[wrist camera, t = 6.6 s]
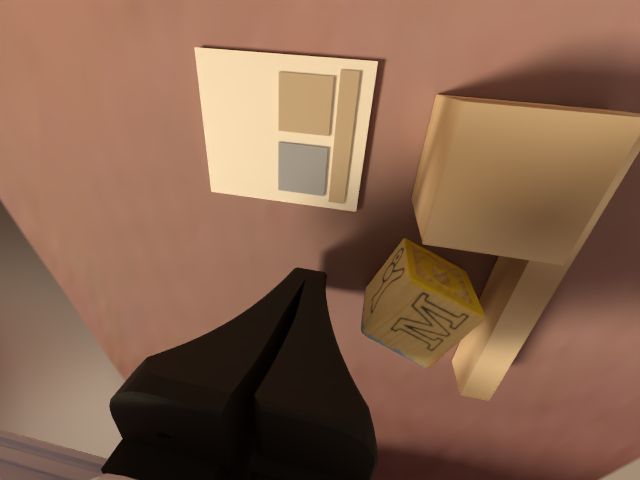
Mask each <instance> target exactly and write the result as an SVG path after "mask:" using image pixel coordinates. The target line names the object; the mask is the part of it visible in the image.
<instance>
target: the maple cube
mask: <svg viewBox="0 0 640 480" xmlns="http://www.w3.org/2000/svg"><path fill="white" fill-rule="evenodd" d="M639 135H640V117H638V116H631V115H624V114H617V113H610V112H603V111H596V110H589V109H582V108H575V107H568V106H561V105H553V104H541V103H530V102H519V101H507V100H496V99H484V98H473V97H462V96H450V95H439V94H436V98H435V102H434V106H433V110H432V114H431V118H430V123H429V127H428V131H427V135H426V139H425V143H424V147H423V152H422V156H421V160H420V164H419V168H418V172H417V176H416V180H415V185H414V189H413V193H412V197H411V200H412V204H413V208H414V212H415V216H416V220H417V224H418V228H419V231H420V235H421V239H422V243H423V244H424V245H431V246H437V247H444V248H451V249H457V250H464V251H471V252H477V253H484V254H491V255H498V256H504V257H511V258H518V259H524V260H531V261H538V262H545V263H551V264H558V265H564V263H565V261H566V260H567V258H568V256H569V254H570V253H571V251H572V249H573V248H574V246H575V244H576V242H577V241H578V239H579V237H580V236H581V234H582V232H583V231H584V229H585V227H586V225H587V224H588V222H589V220H590V219H591V217H592V215H593V214H594V212H595V210H596V208H597V207H598V205H599V203H600V202H601V200H602V198H603V196H604V195H605V193H606V191H607V190H608V188H609V186H610V185H611V183H612V181H613V179H614V178H615V176H616V174H617V173H618V171H619V169H620V168H621V166H622V164H623V162H624V161H625V159H626V157H627V156H628V154H629V152H630V150H631V149H632V147H633V145H634V144H635V142H636V140H637V139H638V137H639Z"/></svg>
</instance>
